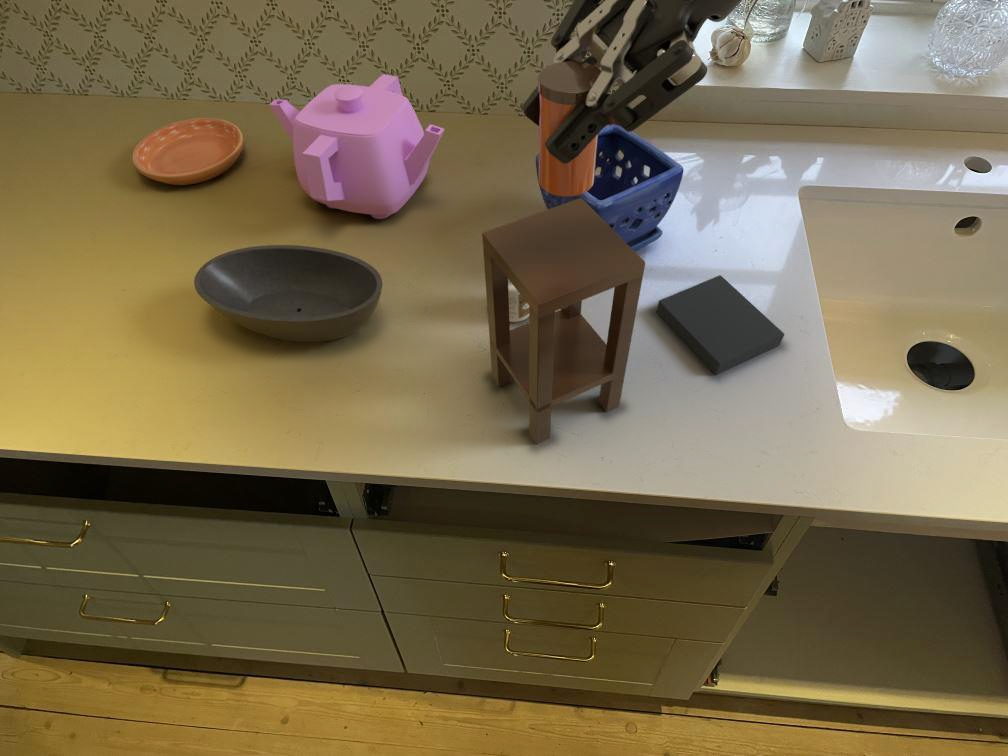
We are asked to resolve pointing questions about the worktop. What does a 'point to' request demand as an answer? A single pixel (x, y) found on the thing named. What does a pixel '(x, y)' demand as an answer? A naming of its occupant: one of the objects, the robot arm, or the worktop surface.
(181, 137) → the saucer
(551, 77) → the spice jar
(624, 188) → the flower pot
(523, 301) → the pill bottle
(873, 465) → the worktop surface
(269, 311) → the bowl
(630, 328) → the stand
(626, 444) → the worktop surface
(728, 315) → the pad
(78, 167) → the worktop surface
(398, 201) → the teapot
